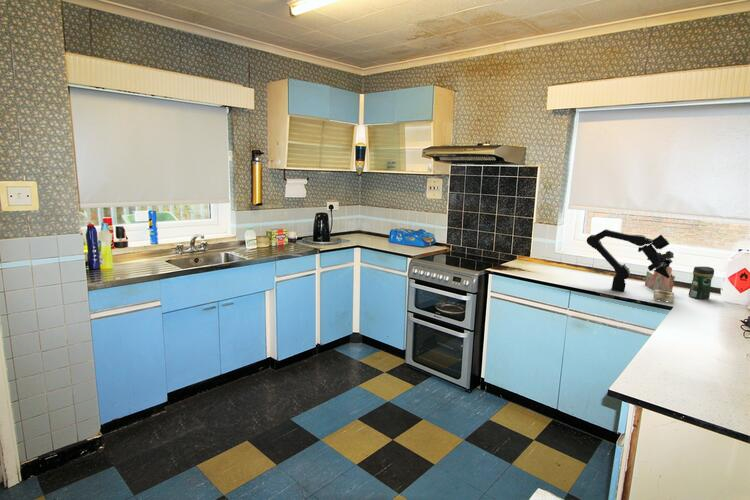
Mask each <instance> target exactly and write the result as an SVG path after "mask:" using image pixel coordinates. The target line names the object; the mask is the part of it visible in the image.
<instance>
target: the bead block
mask: <svg viewBox="0 0 750 500" xmlns="http://www.w3.org/2000/svg"><path fill="white" fill-rule="evenodd" d="M653 291H654V290H653ZM654 299H655V300H654ZM674 299H675V294H674V292H673V291H672V292H667V291H660V290H655V291H654V292H653V300H654V301H656V300H660V301H659V302H662V301H668V302H673V303H674ZM668 302H667V303H668Z"/></svg>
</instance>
